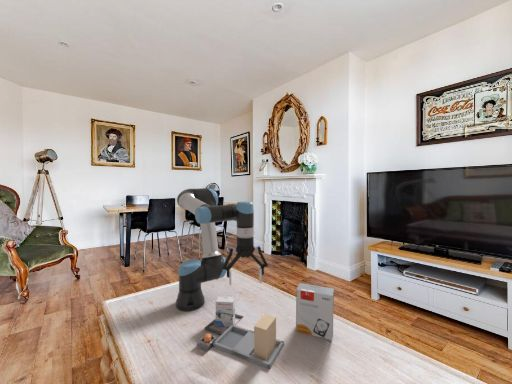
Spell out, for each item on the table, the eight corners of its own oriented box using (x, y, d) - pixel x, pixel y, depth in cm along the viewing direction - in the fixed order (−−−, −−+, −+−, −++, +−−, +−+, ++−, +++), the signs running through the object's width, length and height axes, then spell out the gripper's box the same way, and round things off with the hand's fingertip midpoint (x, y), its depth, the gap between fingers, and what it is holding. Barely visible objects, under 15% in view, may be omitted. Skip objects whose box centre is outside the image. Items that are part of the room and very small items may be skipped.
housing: (197, 347, 97) (196, 341, 97) (206, 338, 102) (206, 332, 102) (208, 351, 94) (208, 345, 94) (217, 342, 99) (217, 336, 99)
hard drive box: (295, 333, 105) (295, 289, 104) (298, 324, 112) (298, 282, 111) (332, 342, 99) (332, 295, 98) (333, 331, 106) (334, 287, 105)
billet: (254, 357, 90) (254, 326, 89) (264, 343, 98) (264, 314, 97) (266, 361, 87) (266, 329, 87) (276, 346, 95) (276, 317, 95)
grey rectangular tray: (212, 349, 96) (212, 343, 96) (232, 329, 108) (232, 324, 108) (269, 371, 84) (269, 365, 84) (284, 347, 96) (284, 341, 96)
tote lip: (204, 329, 109) (204, 327, 109) (224, 312, 123) (224, 310, 123) (226, 337, 103) (226, 335, 103) (245, 318, 117) (245, 316, 117)
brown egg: (202, 345, 98) (202, 336, 97) (207, 340, 100) (206, 332, 100) (208, 347, 96) (208, 339, 96) (212, 343, 99) (212, 334, 99)
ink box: (215, 326, 111) (214, 301, 110) (217, 320, 116) (217, 296, 115) (233, 327, 110) (233, 302, 109) (235, 321, 115) (235, 297, 114)
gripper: (216, 239, 101) (217, 289, 102) (274, 237, 105) (274, 284, 106) (216, 235, 108) (217, 281, 109) (270, 233, 113) (270, 277, 114)
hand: (245, 283), depth 108 cm, fingers open, 13 cm apart
